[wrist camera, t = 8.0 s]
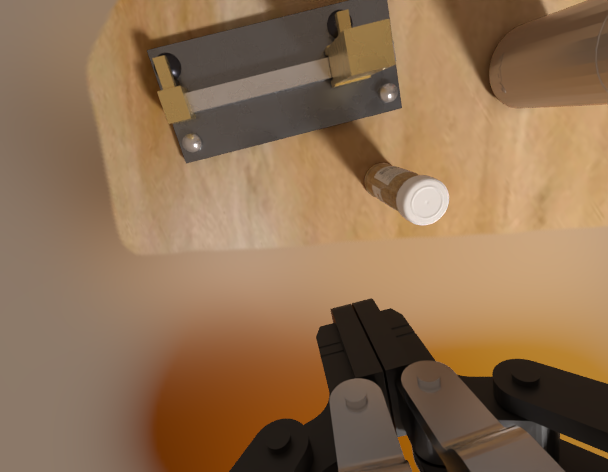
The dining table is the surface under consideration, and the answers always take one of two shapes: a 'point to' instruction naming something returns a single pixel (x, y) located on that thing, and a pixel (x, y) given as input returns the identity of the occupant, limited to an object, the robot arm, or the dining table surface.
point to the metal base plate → (266, 58)
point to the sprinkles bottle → (408, 193)
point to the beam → (232, 88)
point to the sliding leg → (359, 50)
